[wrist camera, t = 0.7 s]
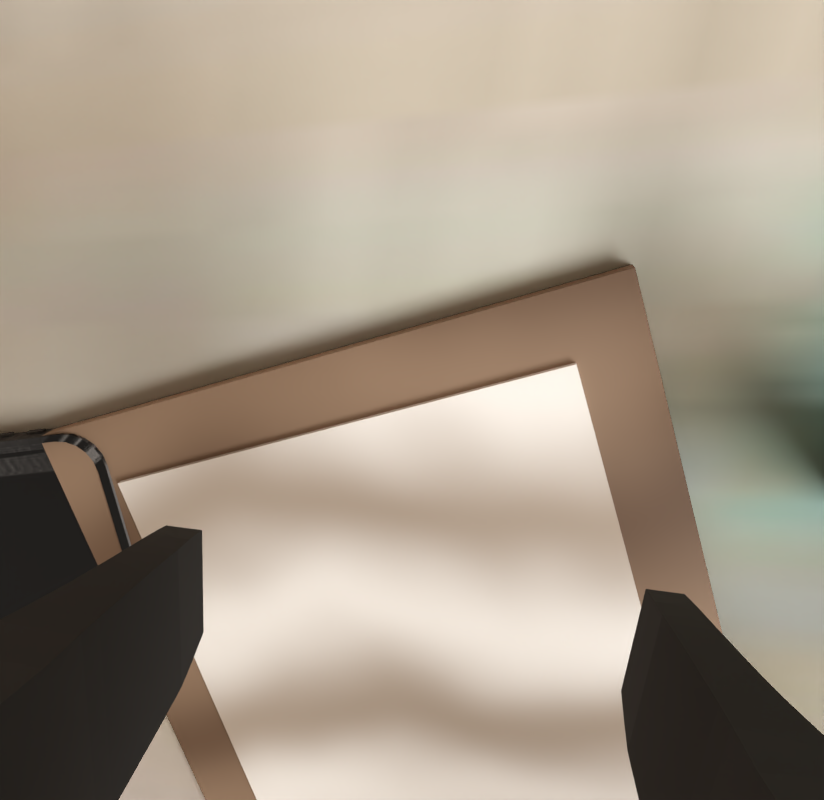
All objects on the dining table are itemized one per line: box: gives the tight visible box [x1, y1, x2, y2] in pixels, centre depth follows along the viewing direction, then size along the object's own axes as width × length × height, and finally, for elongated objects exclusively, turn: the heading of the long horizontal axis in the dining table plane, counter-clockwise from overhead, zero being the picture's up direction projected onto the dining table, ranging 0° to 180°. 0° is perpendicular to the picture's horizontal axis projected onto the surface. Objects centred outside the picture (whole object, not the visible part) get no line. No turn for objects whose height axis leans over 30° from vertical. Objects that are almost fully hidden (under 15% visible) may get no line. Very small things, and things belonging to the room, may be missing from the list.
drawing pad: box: [42, 265, 722, 800], centre depth 25 cm, size 24×18×1 cm
